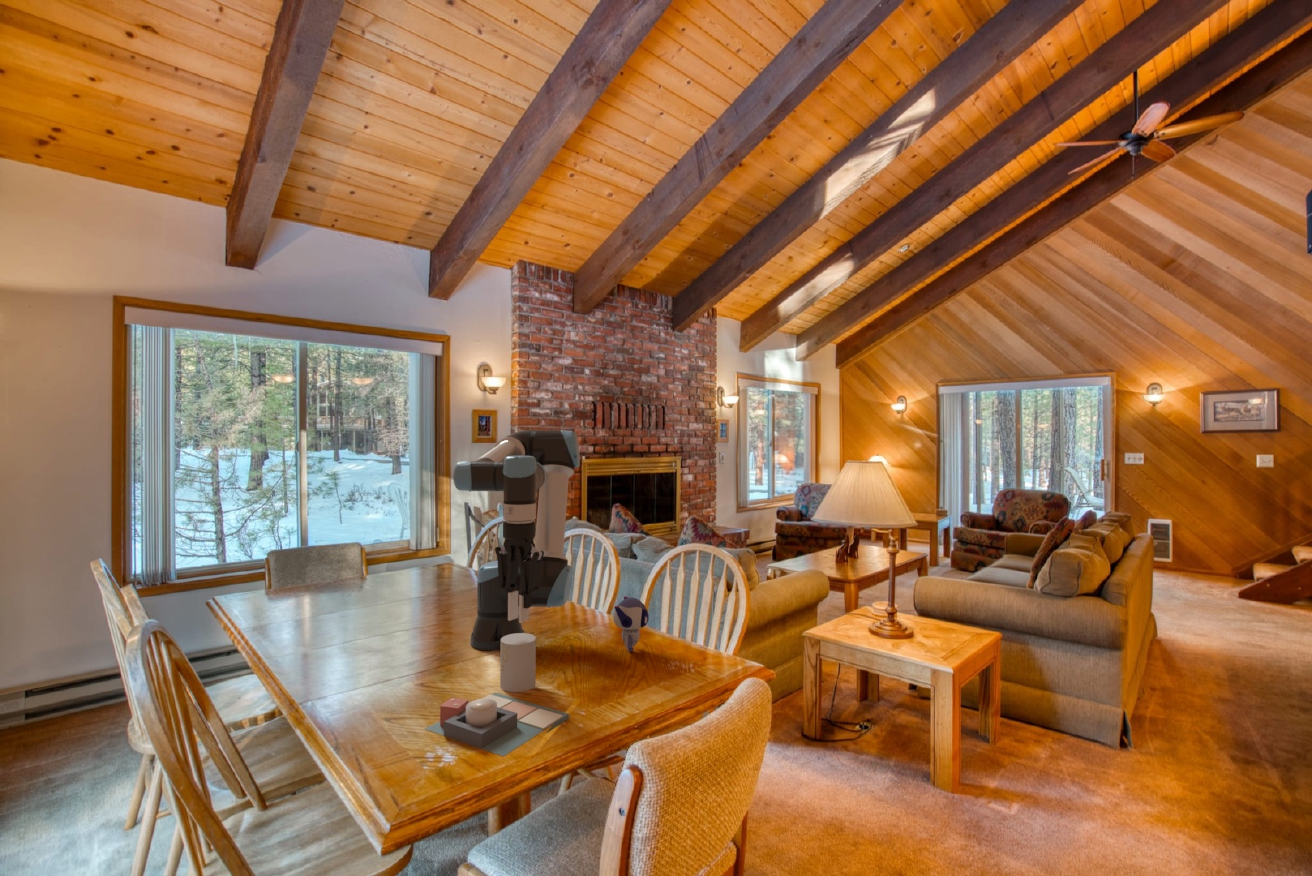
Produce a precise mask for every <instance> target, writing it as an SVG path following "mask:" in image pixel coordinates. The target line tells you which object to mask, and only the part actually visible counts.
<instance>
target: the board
mask: <svg viewBox="0 0 1312 876" xmlns="http://www.w3.org/2000/svg"><path fill="white" fill-rule="evenodd" d="M481 699H491V700H494V701H496V703H497V720H496V721H494V722H493V723H491V724H489V725H487V726H486V727H484V728H482V729H481V728H478V727H475V726H472V725H469V724H466V710H465V711H463V712H461V713H459V714H457V715H456V716H454V717H452V718H450V719H448V720H446V721H444V726H440V720H439V721H437V722H435V723H432V724H431V725H430V726H429V725H428V726H427V727H426V728H424V730H426V731H429V732H432V733H435V734H437V735H441V736H444V737H446V738H449V739H451V740H454V741H458V742H461V743H464V744H467V745H468V746H472V747H475V748H478V749H480V750H484V751H486V752H489V753H493V754H494V755H497V756H501V757H505V756H507V755H509V754H510V753H512V752H513V751H515V750H516V749H518V748H520V747H521V746H522V745H523V744H525V743H527V742H528V741H530V740H531V739H533V738H535V737H536V736H537V735H539V734H540V733H542V732H543V731H545V730H546V729H548V728H549V729H548V730H547V732H546V734H548V733H549V732H550V731H552V730H554V729H555V728H557V727H558V726H560V725H561V724H563V723H565V722H566V721H567V720H569V719H570V713H567V712H564V711H561V710H556V709H554V708H550V707H546V706H543V705H540V704H537V703H533V702H532V703H531V702H529V701H526V700H523V699H518V698H516V697H512V696H509V695H504V694H501V693H499V692H498V693H497V692H494V693H492V694H489V695H486V696H485V697H483V698H481Z"/></svg>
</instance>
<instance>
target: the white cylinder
mask: <svg viewBox="0 0 1312 876" xmlns="http://www.w3.org/2000/svg"><path fill="white" fill-rule="evenodd" d="M536 638H537V636H535V634H531V633H525V632H524V633H515V634H509V635H506V636H504V637H502V638H501V650H500V659H499V660H500V661H499V662H500V666H499V667H500V669H499V671H500V674H499V676H500V677H499V683H500V684H499V688H500V689H501V690H502V691H504V692H508V693H522V692H526V691H529V690H531V689H536V665H537V664H536V660H537V659H536V655H537V654H536V653H537V651H536V649H537V648H536V647H537V646H536V645H537V639H536Z"/></svg>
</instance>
